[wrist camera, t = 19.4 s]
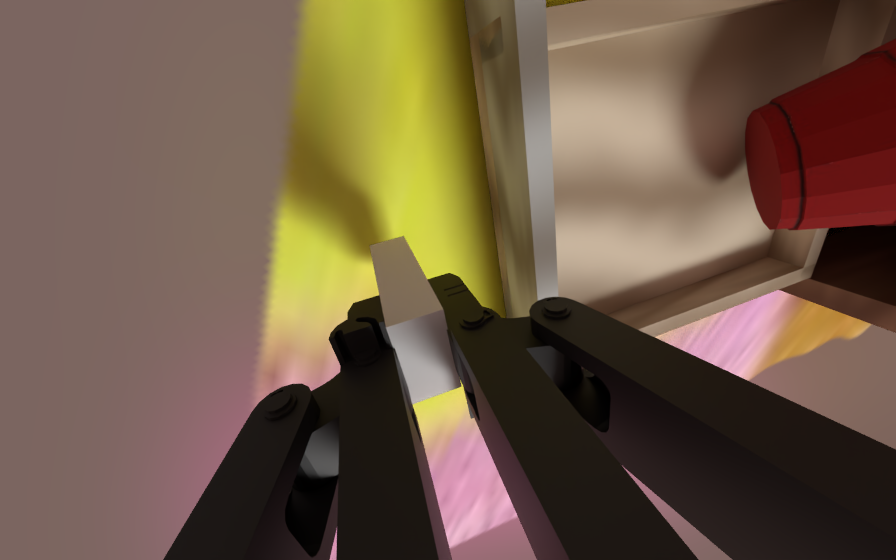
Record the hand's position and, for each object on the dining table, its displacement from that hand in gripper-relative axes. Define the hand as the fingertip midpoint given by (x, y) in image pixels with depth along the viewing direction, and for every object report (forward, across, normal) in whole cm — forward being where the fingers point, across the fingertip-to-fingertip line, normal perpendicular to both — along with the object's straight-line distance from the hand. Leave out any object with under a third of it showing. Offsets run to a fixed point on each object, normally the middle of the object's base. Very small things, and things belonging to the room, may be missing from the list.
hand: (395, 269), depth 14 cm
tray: (+2, +15, 0) cm, 15 cm away
